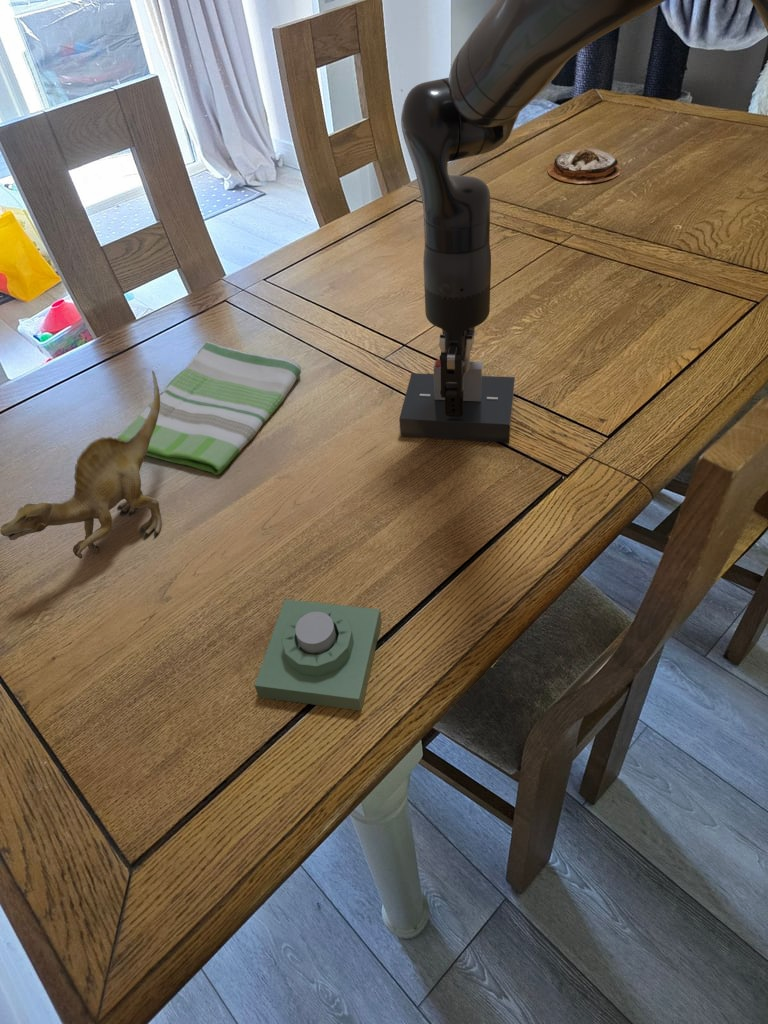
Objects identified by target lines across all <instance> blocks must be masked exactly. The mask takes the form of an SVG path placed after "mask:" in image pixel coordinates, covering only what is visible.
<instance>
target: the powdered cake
mask: <svg viewBox="0 0 768 1024" xmlns="http://www.w3.org/2000/svg"><path fill="white" fill-rule="evenodd" d="M621 173H622V168H621V166H620V165H619V164H618V160H617V158H616V157H615V156H614V155H612V154H611V153H609V152H607V151H605V150H603V149H600V148H596V147H586V148H584V147H583V148H579V149H574V150H571V151H567V152H561V153H560V154H559V155H556V157H555V159H554V161H553V162H551V163H550V164H549V165H548V166H547V174H549V176H550V177H553V178H554V179H556V180H559V181H561V182H565V183H570V184H571V183H572V184H579V185H580V184H581V185H582V184H595V183H596V184H597V183H602V182H606V181H609V180H613V179H615V178H616V177H618V176H619V175H621Z"/></svg>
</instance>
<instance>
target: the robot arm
mask: <svg viewBox="0 0 768 1024" xmlns="http://www.w3.org/2000/svg"><path fill="white" fill-rule="evenodd" d="M666 1H667V0H496V1H495V2H494V4H493V5H492V6H491V7H490V9H489V10H488V11H487V12H486V13H485V15H484V16H483V17H482V19H481V20H480V21H479V23H478V24H477V26H476V27H475V28H474V29H473V31H472V32H471V33H470V35H469V37H468V38H467V39H466V41H465V42H464V44H463V45H462V46H461V47H460V49H459V51H458V52H457V54H456V56H455V57H454V59H453V62H452V64H451V67H450V70H449V75H448V77H443V78H440V79H434V80H429V81H424V82H421V83H419V84H417V85H414V87H412V88H411V89H410V91H409V92H408V93H407V95H406V97H405V99H404V102H403V104H402V108H401V112H400V113H401V114H400V126H401V132H402V136H403V139H404V143H405V145H406V149H407V152H408V155H409V157H410V160H411V164H412V166H413V169H414V174H415V176H416V180H417V183H418V188H419V193H420V198H421V201H422V208H423V209H422V210H423V232H424V248H423V249H424V251H423V259H422V261H423V263H422V264H423V286H424V288H423V289H424V309H425V310H424V311H425V317H426V319H427V321H428V322H429V323H430V324H431V325H433V326H434V327H435V328H439V329H441V333H440V334H439V341H438V342H439V344H438V346H439V349H440V355H439V359H438V360H440V371H441V391H440V395H441V398H445V414H446V415H447V416H453V417H461V416H462V415H463V393H464V391H465V387H464V379H465V375H466V374H467V373H468V372H469V365H470V362H471V351H472V350H473V346H474V344H475V335H476V327H478V326H480V325H482V324H483V323H484V322H485V321H486V320H487V319H488V317H489V315H490V311H491V306H490V305H491V281H492V280H491V277H492V276H491V275H492V273H491V272H492V252H491V251H492V250H491V244H490V237H491V236H490V235H491V233H490V232H491V192H490V189H489V186H488V185H487V183H486V182H484V181H483V180H482V179H480V178H477V177H475V176H470V175H457V174H449V171H448V169H449V168H448V165H449V163H450V162H454V161H458V160H463V159H467V158H471V157H475V156H480V155H483V154H487V153H489V152H490V153H491V152H492V151H494V150H496V149H498V148H499V147H501V146H503V145H504V144H505V143H506V142H507V141H508V139H510V137H511V135H512V132H513V129H514V127H515V124H516V122H517V120H518V118H519V116H520V112H522V111H523V109H525V108H526V107H527V106H528V105H529V104H530V103H532V101H533V100H534V99H536V98H537V97H538V96H539V94H542V92H543V91H544V90H545V89H546V88H547V87H548V86H549V85H550V84H551V82H552V81H553V80H554V79H555V78H556V77H557V76H558V74H559V73H560V72H561V70H562V69H563V68H564V66H565V65H566V63H567V62H568V61H569V60H571V59H572V57H574V56H575V55H576V54H578V53H579V52H580V51H582V50H583V49H585V47H588V46H589V45H590V44H592V43H593V42H595V41H596V40H598V39H600V38H601V37H604V36H605V35H607V34H609V33H610V32H612V31H614V30H616V29H618V28H619V27H621V26H623V25H625V24H627V23H628V22H630V21H632V20H634V19H636V18H637V17H640V16H641V15H643V14H644V13H647V12H648V11H650V10H652V9H653V8H655V7H657V6H659V5H660V4H662V3H664V2H666ZM750 2H751V3H752V5H753V6H754V8H755V10H756V11H757V13H758V15H759V17H760V19H761V21H762V24H763V25H764V27H765V30H766V32H767V33H768V0H750ZM463 362H465V364H464V366H463ZM448 382H456V383H448Z"/></svg>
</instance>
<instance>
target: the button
mask: <svg viewBox="0 0 768 1024" xmlns="http://www.w3.org/2000/svg"><path fill="white" fill-rule="evenodd" d="M295 633H296V636H297V640H298V643H299V646H300V647H301V648H302V649H303V650H304V651H305V652H307V653H310V654H320V653H323V652H325V651H327V650H328V649H330V648H331V647H332V645H333V644H334V642H335V639H336V632H335V628H334V624H333V621H332V619H331V618H330V616H328V615H327V614H325V613H323V612H311V613H308V614H306V615H304V616H302V617H301V618H300V619H299V621H298V622H297V624H296V627H295Z"/></svg>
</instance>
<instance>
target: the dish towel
mask: <svg viewBox="0 0 768 1024" xmlns="http://www.w3.org/2000/svg"><path fill="white" fill-rule="evenodd" d="M301 370H302V367H301V365H300V364H299V363H297V362H296V361H294V360H292V359H289V358H285V357H280V356H273V355H268V354H259V353H255V352H248V351H247V352H246V351H243V350H242V351H241V350H239V349H235V348H231V347H225V346H222V345H219V344H217V343H216V342H215V343H214V342H211V341H209V340H208V341H207V342H205V343H204V345H203V346H202V347H201V348H200V350H198V352H197V354H196V355H195V356H194V357H192V359H191V360H190V362H189V364H188V365H187V366H186V367H185V368H184V369H183V370H181V371H180V372H179V373H177V374H176V376H174V377H173V378H172V379H171V380H170V381H169V383H167V385H166V386H165V388H164V389H163V390H162V392H161V393H160V410H159V415H158V419H157V423H156V426H155V429H154V432H153V434H152V437H151V440H150V443H149V446H148V450H147V452H146V455H145V456H148V457H151V458H155V459H159V460H162V461H166V462H170V463H174V464H179V465H184V466H189V467H192V468H195V469H198V470H202V471H205V472H209V473H211V474H213V475H215V476H219V475H221V473H222V472H224V470H225V469H226V468H227V467H228V466H229V465H230V463H231V462H232V461H233V460H234V459H235V458H236V456H238V454H239V453H240V452H241V451H242V449H243V448H244V447H245V446H247V444H248V443H249V442H251V441H252V439H254V437H255V436H256V435H257V433H258V432H259V430H260V428H262V426H263V425H264V423H265V422H266V421H267V420H268V419H269V418H270V417H271V416H272V415H273V414H274V412H275V411H276V410H277V409H278V408H279V406H280V405H281V404H282V402H283V401H284V400H285V398H286V397H287V395H288V393H289V392H290V390H291V389H292V388H293V386H294V384H295V383H296V380H297V379H298V378H299V377H300V375H301V374H302V371H301ZM153 401H154V399H153V400H152V401H151V402H150V403H149V404H147V406H146V407H145V408H144V410H143V411H142V412H141V414H139V415H138V416H137V418H135V420H133V422H131V424H130V425H128V427H127V428H126V429H125V430H124V431H123V432H122V433H121V434H119V435H118V437H117V439H118V440H123V441H128V440H129V439H130V438H133V436H134V435H135V434H136V433H137V432H138V431H139V429H140V428H141V427H142V425H143V424H144V422H145V420H146V418H147V417H148V415H149V413H150V411H151V408H152V405H153Z"/></svg>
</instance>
